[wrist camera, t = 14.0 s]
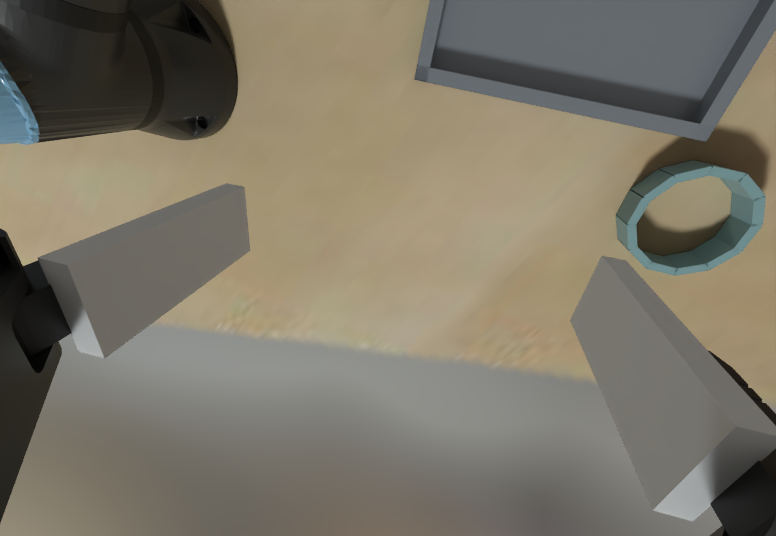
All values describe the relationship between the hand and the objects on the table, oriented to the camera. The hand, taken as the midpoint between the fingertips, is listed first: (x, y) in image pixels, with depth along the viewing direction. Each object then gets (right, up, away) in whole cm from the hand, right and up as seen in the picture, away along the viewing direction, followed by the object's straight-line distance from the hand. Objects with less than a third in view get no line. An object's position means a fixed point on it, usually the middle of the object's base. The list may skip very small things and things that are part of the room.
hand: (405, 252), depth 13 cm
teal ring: (+29, +5, +22) cm, 37 cm away
